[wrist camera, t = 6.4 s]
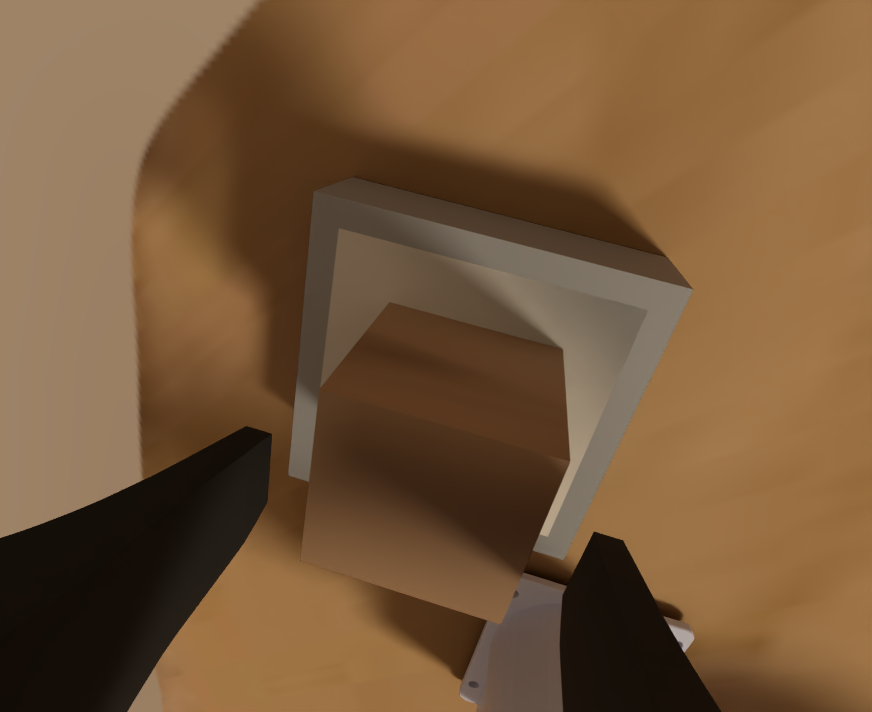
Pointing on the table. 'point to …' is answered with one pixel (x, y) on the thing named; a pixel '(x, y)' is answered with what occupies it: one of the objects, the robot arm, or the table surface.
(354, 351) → the walnut cube
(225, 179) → the table surface
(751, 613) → the table surface
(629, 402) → the grey plinth
